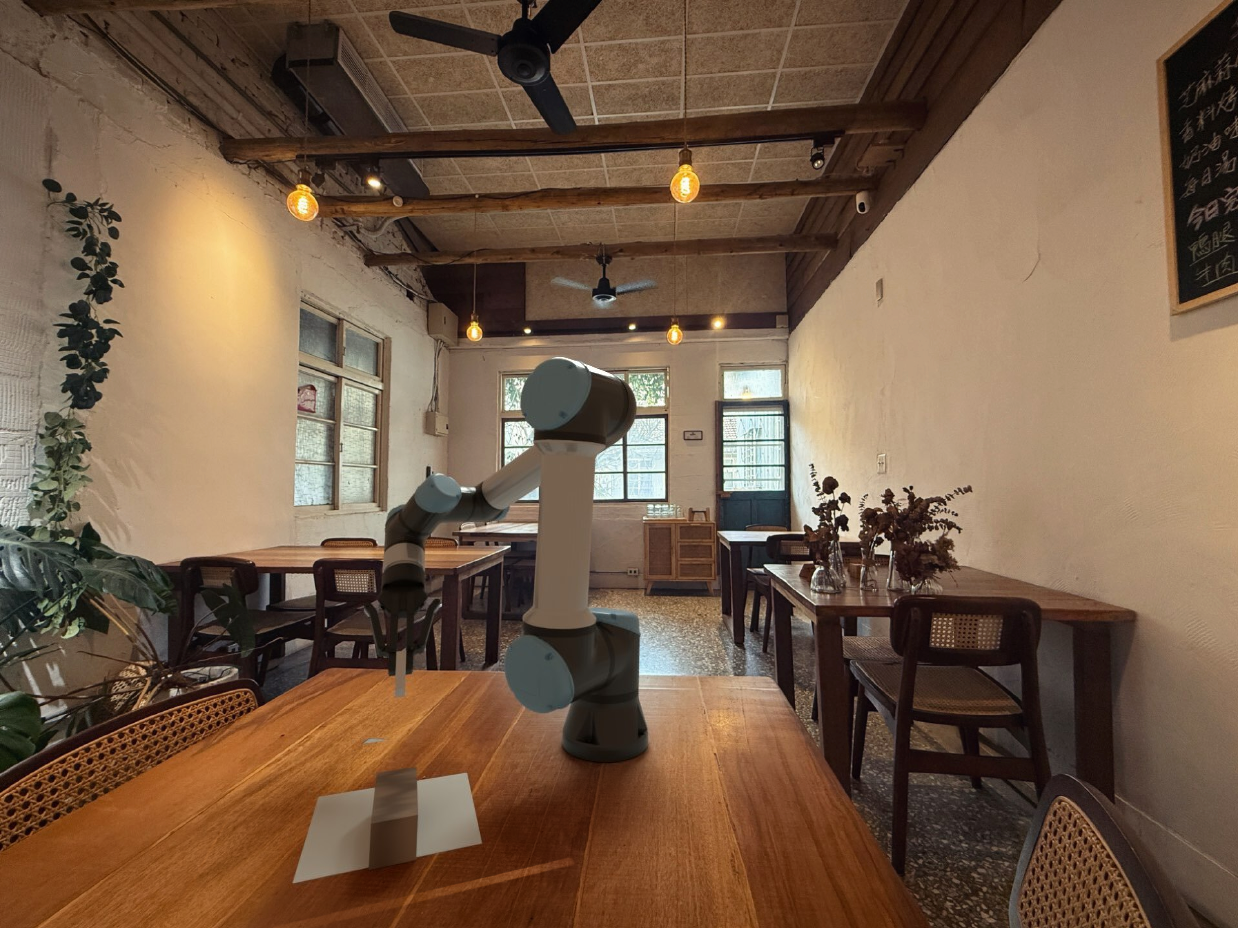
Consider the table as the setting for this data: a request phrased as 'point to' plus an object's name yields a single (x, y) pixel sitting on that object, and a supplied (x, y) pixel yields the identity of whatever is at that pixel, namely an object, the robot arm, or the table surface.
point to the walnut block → (394, 818)
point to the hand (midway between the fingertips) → (399, 692)
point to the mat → (347, 823)
